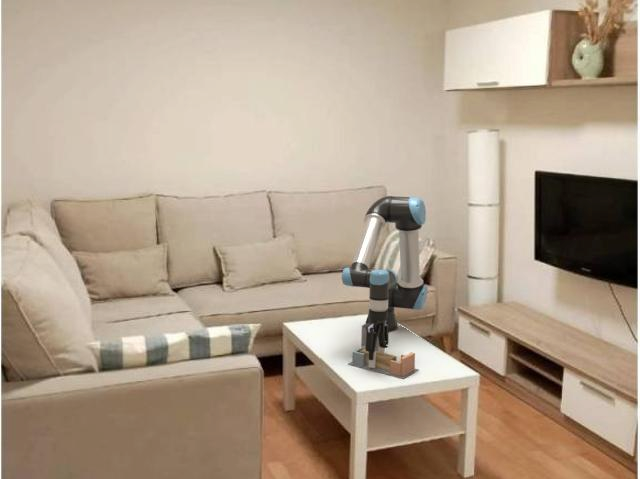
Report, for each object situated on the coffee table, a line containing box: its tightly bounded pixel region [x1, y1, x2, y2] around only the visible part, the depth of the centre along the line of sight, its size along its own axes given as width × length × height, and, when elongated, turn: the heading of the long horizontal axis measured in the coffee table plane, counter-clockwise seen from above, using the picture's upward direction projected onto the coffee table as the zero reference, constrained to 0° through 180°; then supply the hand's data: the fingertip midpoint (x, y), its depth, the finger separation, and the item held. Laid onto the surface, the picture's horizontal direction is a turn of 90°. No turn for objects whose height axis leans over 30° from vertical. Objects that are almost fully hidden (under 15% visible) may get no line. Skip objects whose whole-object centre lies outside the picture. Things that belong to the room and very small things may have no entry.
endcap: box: [390, 352, 416, 376], centre depth 290 cm, size 9×6×7 cm, turn 143°
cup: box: [360, 323, 380, 352], centre depth 317 cm, size 8×8×10 cm
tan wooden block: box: [359, 349, 398, 371], centre depth 297 cm, size 4×15×5 cm, turn 54°
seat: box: [347, 346, 420, 380], centre depth 295 cm, size 12×26×5 cm, turn 53°
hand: (376, 365), depth 296 cm, fingers open, 6 cm apart
